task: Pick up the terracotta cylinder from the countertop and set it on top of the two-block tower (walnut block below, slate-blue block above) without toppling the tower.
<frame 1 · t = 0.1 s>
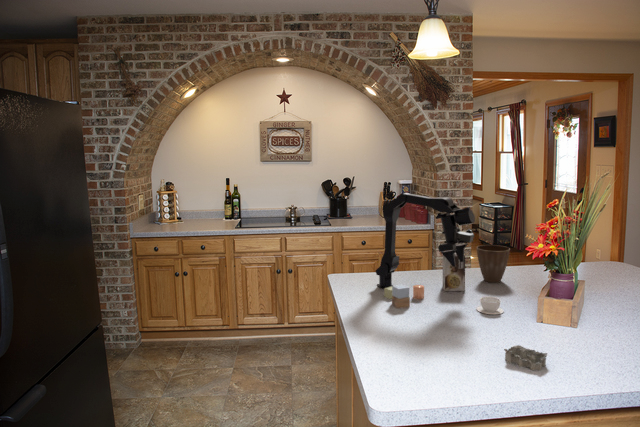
hand: (458, 264, 190), 15 cm above the kitchen island, tool pointing down, fingers open, 9 cm apart
egg carton: (525, 363, 136), on the kitchen island
terracotta cylinder: (418, 297, 197), on the kitchen island
tower mid: (400, 296, 187), point 4 cm above the kitchen island, touching tower base
plant pot: (492, 281, 219), on the kitchen island
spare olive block: (391, 297, 198), on the kitchen island
coffee box: (453, 289, 208), on the kitchen island
tower base: (400, 305, 188), on the kitchen island, touching tower mid
teacup: (489, 311, 179), on the kitchen island
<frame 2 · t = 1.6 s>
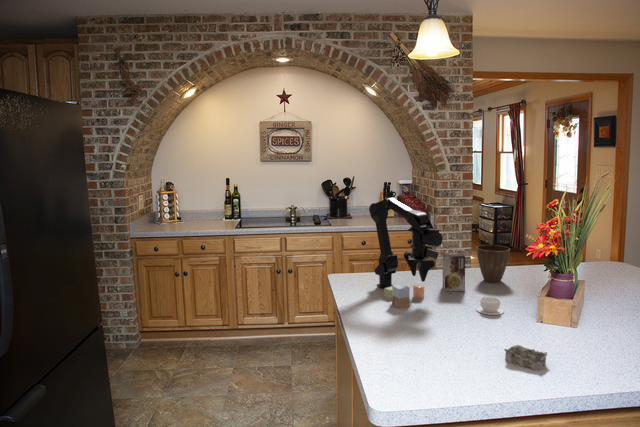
hand: (418, 278, 196), 8 cm above the kitchen island, tool pointing down, fingers open, 9 cm apart
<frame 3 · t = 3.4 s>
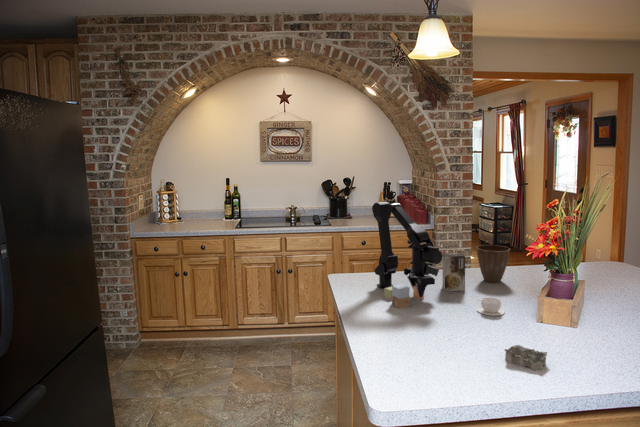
hand: (418, 295, 197), 1 cm above the kitchen island, tool pointing down, fingers closed on terracotta cylinder, 5 cm apart
terracotta cylinder: (418, 297, 197), on the kitchen island, touching gripper
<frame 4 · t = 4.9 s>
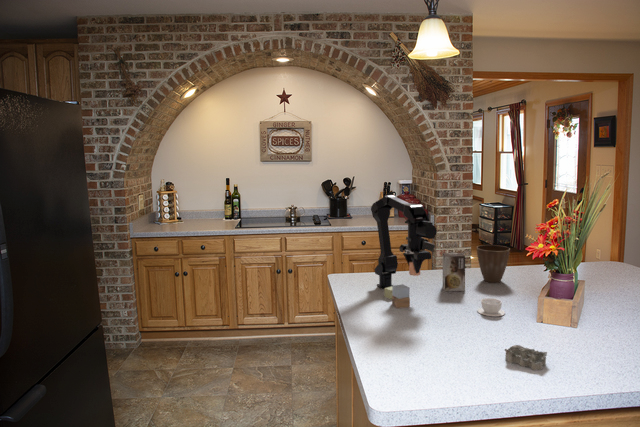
hand: (414, 271, 193), 12 cm above the kitchen island, tool pointing down, fingers closed on terracotta cylinder, 5 cm apart
terracotta cylinder: (414, 274, 193), point 11 cm above the kitchen island, touching gripper
when the fingers open (10 cm above the kitchen island, at t = 6.6 s): terracotta cylinder drops 1 cm, resting on tower mid.
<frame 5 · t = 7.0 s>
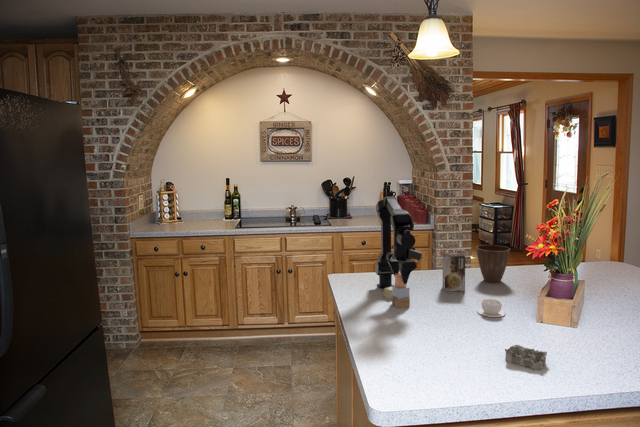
hand: (400, 281, 186), 10 cm above the kitchen island, tool pointing down, fingers open, 9 cm apart
terracotta cylinder: (400, 286, 187), point 8 cm above the kitchen island, touching tower mid
tower mid: (400, 296, 187), point 4 cm above the kitchen island, touching terracotta cylinder, tower base
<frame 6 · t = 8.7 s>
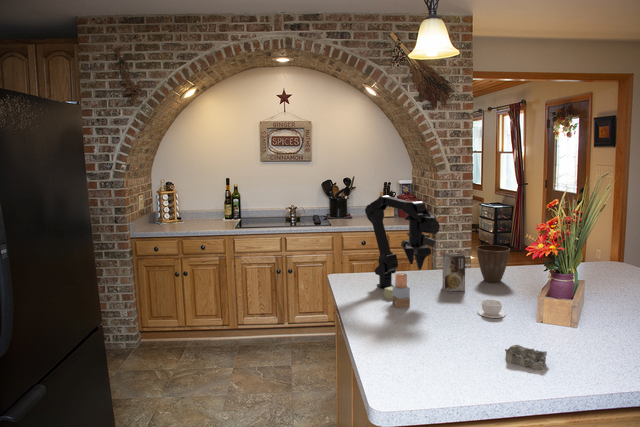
hand: (415, 266, 198), 13 cm above the kitchen island, tool pointing down, fingers open, 9 cm apart
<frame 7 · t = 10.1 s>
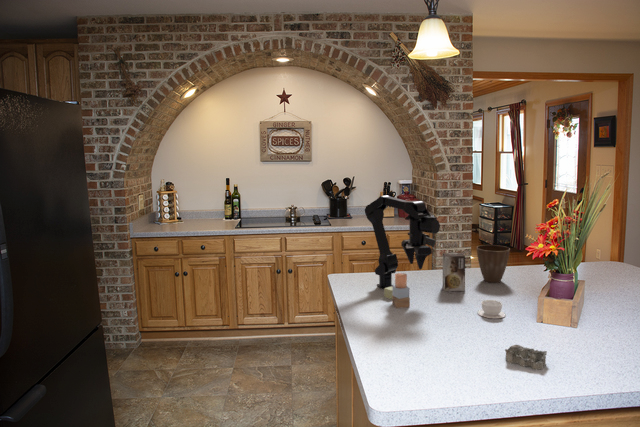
hand: (415, 266, 198), 13 cm above the kitchen island, tool pointing down, fingers open, 9 cm apart
at the end: terracotta cylinder 0.1 cm off-centre on the tower base, point 8.0 cm above the tower base's base; tower mid tilted 0°; tower base moved 0.2 cm from its start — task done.
